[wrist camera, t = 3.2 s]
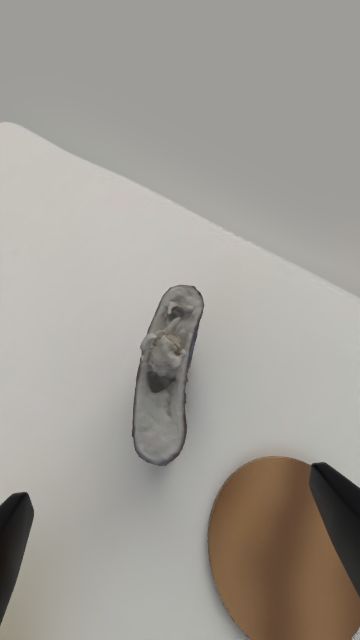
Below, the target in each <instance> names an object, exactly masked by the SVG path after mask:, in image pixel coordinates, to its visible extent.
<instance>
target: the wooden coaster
mask: <svg viewBox="0 0 360 640" xmlns="http://www.w3.org/2000/svg"><path fill="white" fill-rule="evenodd" d="M310 470H311V465H309V464H307V463H305V462H302V461H299V460H296V459H293V458H288V457H279V456H270V457H263V458H259V459H255V460H253V461H251V462H248V463H246V464H245V465H243V466H242V467H240V468H239V469H237V470H236V471H235V472H234V473H233V474H232V475H231V476H230V477H229V478H228V479H227V481H226V482H225V483H224V485H223V486H222V488H221V489H220V491H219V493H218V495H217V497H216V499H215V502H214V505H213V508H212V511H211V516H210V521H209V529H208V552H209V561H210V565H211V570H212V574H213V578H214V581H215V584H216V587H217V590H218V592H219V595H220V597H221V599H222V601H223V604H224V605H225V607H226V609H227V611H228V612H229V614H230V616H231V617H232V619H233V620H234V621H235V623H236V624H237V625H238V627H239V628H240V629H241V630H242V631H243V632H244V633H245V634H246V635H247V636H248V637H249V638H250V639H251V640H351V638H352V637H353V636H354V635H355V633H356V632H357V630H358V628H359V627H360V598H359V596H358V594H357V592H356V590H355V588H354V586H353V584H352V582H351V580H350V578H349V576H348V574H347V572H346V570H345V568H344V566H343V564H342V562H341V560H340V558H339V556H338V554H337V552H336V550H335V548H334V546H333V544H332V542H331V540H330V537H329V535H328V532H327V530H326V528H325V525H324V523H323V520H322V518H321V515H320V513H319V510H318V508H317V505H316V503H315V500H314V498H313V495H312V493H311V490H310V487H309V476H310Z"/></svg>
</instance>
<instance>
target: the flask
mask: <svg viewBox="0 0 360 640" xmlns="http://www.w3.org/2000/svg"><path fill="white" fill-rule="evenodd" d="M203 308H204V302H203V297H202V295H201V293H200V292H199V291H198V290H197V289H196V288H195V286H187V285H178V286H174V287H171V288H169V290H168V291H167V292H166V293H165V294H164V295H163V297H162V299H161V301H160V303H159V306H158V308H157V310H156V312H155V315H154V318H153V320H152V322H151V325H150V327H149V329H148V332H147V335H146V337H145V338H144V340H143V341H142V343H141V345H140V348H141V350H142V355H141V358H140V364H139V368H138V373H137V379H136V388H135V397H134V408H133V429H132V436H133V439H134V447H135V451H136V452H137V454H138V455H139V457H140V458H142V459H143V460H145V461H146V462H148V463H152V464H155V465H159V466H165V465H167V464H168V463H169V462H171V461H173V460H174V459H175V458H176V457H177V456H178V455H179V454H180V452H181V450H182V448H183V445H184V442H185V438H186V433H187V424H186V417H185V403H186V400H185V399H186V393H185V385H186V382H187V381H188V380H187V372H188V368H189V367H190V362H191V359H192V354H193V349H194V345H195V341H196V338H197V331H198V327H199V322H200V319H201V316H202V313H203Z"/></svg>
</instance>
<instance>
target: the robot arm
mask: <svg viewBox="0 0 360 640" xmlns="http://www.w3.org/2000/svg"><path fill="white" fill-rule="evenodd" d="M309 487H310V490H311V493H312V495H313V498H314V500H315V503H316V505H317V508H318V510H319V513H320V515H321V518H322V520H323V523H324V525H325V528H326V530H327V532H328V535H329V537H330V540H331V542H332V544H333V546H334V548H335V550H336V552H337V554H338V556H339V558H340V560H341V562H342V564H343V566H344V568H345V570H346V572H347V574H348V576H349V578H350V580H351V582H352V584H353V586H354V588H355V590H356V592H357V594H358V596H359V598H360V488H359V487H358V486H356V485H355V484H354V483H352V482H351V481H350V480H348V479H347V478H346V477H344V476H343V475H342V474H340V473H339V472H338V471H336V470H335V469H334V468H332V467H331V466H330V465H328V464H327V463H324V462H320V463H313V464H312V465H311V470H310V476H309ZM33 518H34V509H33V506H32V503H31V500H30V497H29V494H28V493H27V492H22V493H14V494H12V495H11V496H10V497H8V498H7V499H6V500H5V501H4V502H3V503H2V504H1V505H0V625H1V622H2V619H3V617H4V614H5V611H6V608H7V606H8V603H9V600H10V597H11V595H12V592H13V589H14V586H15V583H16V580H17V577H18V573H19V570H20V566H21V562H22V559H23V555H24V551H25V548H26V544H27V540H28V537H29V533H30V529H31V526H32V522H33Z"/></svg>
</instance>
